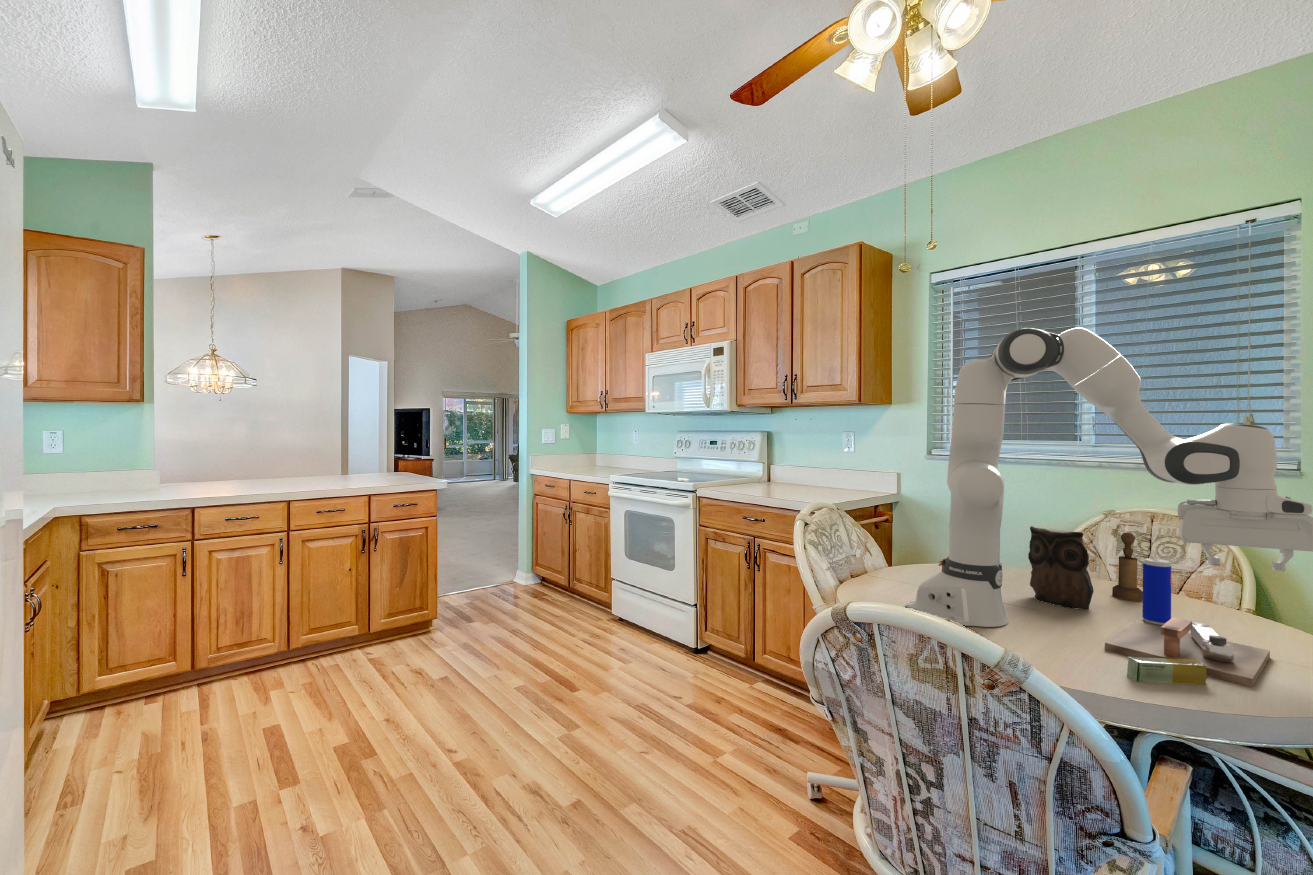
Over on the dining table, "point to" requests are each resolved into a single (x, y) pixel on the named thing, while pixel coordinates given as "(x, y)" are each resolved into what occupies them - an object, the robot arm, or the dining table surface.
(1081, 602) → the owl
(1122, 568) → the brown wooden upright piece
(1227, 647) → the steel link
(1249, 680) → the walnut base plate
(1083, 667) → the dining table surface
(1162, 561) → the beverage can
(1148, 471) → the robot arm
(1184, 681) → the medication box
